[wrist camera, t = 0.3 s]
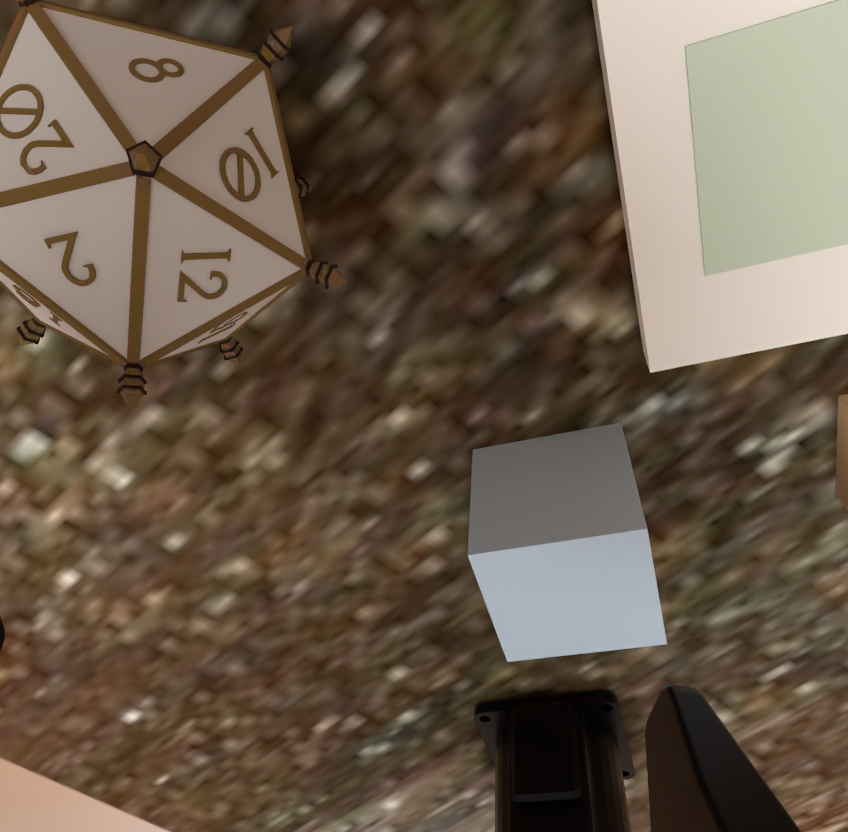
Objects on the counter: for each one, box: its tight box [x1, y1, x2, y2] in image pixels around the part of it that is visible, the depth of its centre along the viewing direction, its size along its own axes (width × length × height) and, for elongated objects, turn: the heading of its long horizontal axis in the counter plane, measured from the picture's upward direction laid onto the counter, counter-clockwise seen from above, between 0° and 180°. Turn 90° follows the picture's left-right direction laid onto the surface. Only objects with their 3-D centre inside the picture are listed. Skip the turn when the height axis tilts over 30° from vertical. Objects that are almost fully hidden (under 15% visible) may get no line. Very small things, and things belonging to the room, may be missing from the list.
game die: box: [0, 0, 347, 410], centre depth 16 cm, size 9×8×10 cm
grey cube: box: [468, 423, 667, 662], centre depth 23 cm, size 5×5×5 cm
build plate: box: [592, 0, 848, 373], centre depth 17 cm, size 11×9×1 cm
